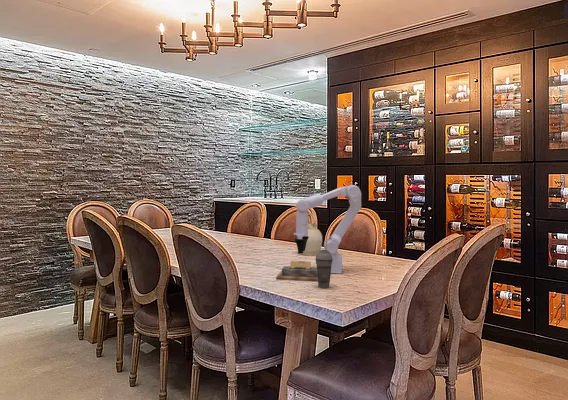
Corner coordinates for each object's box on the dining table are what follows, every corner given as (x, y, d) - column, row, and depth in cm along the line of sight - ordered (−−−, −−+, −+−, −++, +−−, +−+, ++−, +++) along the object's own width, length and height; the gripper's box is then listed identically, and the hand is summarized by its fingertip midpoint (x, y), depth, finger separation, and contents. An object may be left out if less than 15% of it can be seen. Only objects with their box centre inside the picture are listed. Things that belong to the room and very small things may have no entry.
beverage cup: (321, 283, 184) (322, 237, 183) (335, 286, 179) (336, 239, 178) (311, 286, 178) (312, 239, 177) (326, 289, 174) (326, 240, 173)
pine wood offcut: (310, 274, 197) (310, 261, 197) (309, 276, 194) (310, 262, 194) (291, 273, 199) (291, 260, 199) (290, 275, 196) (290, 262, 196)
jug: (309, 251, 271) (310, 211, 270) (327, 254, 260) (328, 213, 258) (291, 253, 262) (292, 212, 260) (309, 257, 250) (309, 214, 249)
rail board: (323, 274, 202) (323, 266, 202) (320, 281, 188) (320, 272, 188) (281, 272, 205) (281, 264, 205) (275, 279, 191) (276, 270, 191)
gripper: (295, 222, 216) (295, 249, 217) (291, 225, 202) (291, 254, 203) (309, 223, 215) (309, 250, 216) (306, 226, 201) (306, 254, 201)
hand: (301, 252), depth 209 cm, fingers open, 7 cm apart
